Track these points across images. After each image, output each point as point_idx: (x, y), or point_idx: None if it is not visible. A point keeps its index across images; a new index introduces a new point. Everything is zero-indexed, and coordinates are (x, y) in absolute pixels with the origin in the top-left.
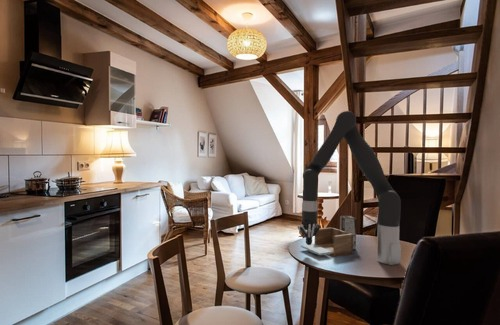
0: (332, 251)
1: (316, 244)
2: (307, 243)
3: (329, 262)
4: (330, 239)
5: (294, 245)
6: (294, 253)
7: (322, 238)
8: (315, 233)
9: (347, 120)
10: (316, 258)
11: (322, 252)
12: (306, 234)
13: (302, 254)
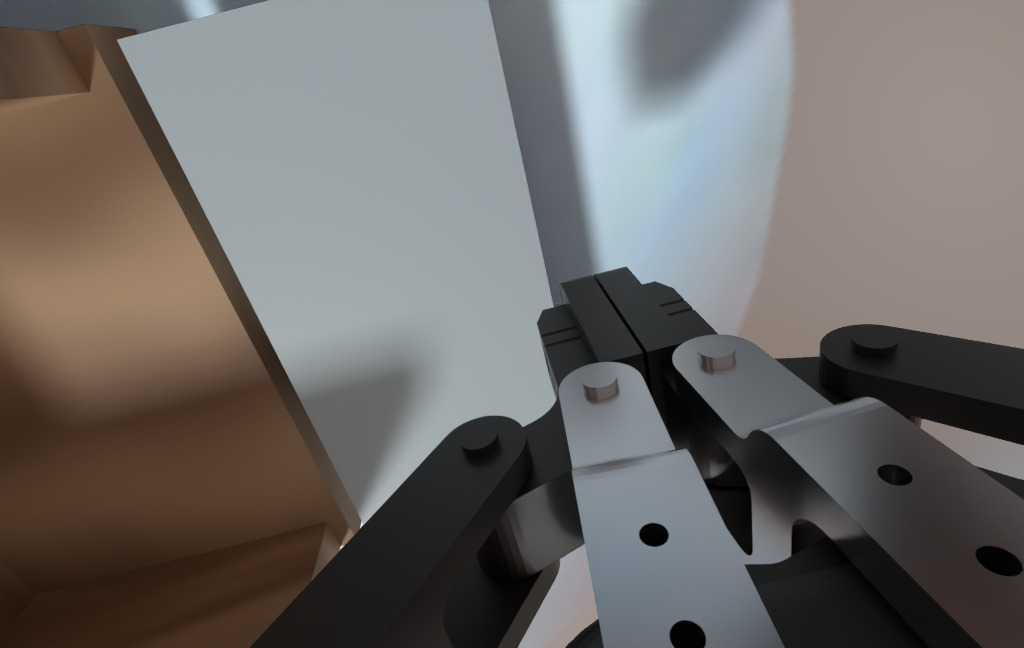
0: (101, 139)
1: (315, 527)
2: (663, 288)
3: None
4: (9, 644)
5: (569, 591)
6: (732, 321)
7: (162, 636)
8: (458, 474)
9: None
10: (514, 17)
11: (379, 13)
12: (885, 371)
13: (645, 265)
